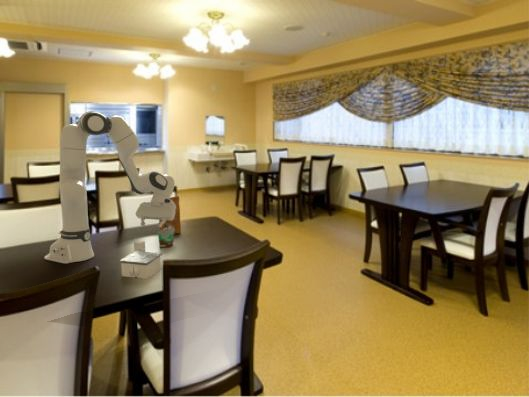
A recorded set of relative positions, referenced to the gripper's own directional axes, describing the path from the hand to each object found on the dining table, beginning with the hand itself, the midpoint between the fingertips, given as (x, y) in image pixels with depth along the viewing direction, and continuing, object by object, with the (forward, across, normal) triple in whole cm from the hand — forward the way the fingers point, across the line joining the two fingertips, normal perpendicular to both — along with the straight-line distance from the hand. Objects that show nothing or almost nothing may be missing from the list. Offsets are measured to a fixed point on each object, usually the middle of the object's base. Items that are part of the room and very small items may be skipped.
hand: (150, 225), depth 196 cm
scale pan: (+23, +9, -13) cm, 28 cm away
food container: (+1, +3, +19) cm, 19 cm away
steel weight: (+18, 0, +2) cm, 18 cm away
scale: (+28, +9, -8) cm, 30 cm away
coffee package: (-16, -8, +36) cm, 40 cm away
